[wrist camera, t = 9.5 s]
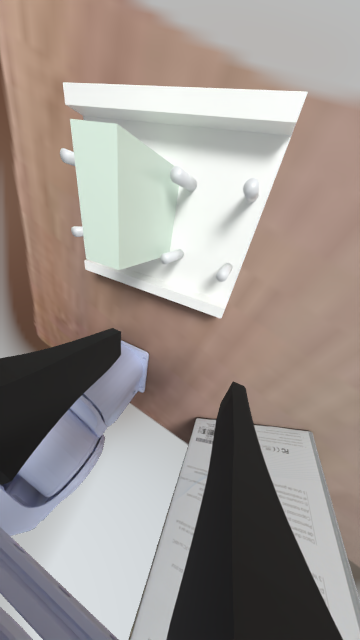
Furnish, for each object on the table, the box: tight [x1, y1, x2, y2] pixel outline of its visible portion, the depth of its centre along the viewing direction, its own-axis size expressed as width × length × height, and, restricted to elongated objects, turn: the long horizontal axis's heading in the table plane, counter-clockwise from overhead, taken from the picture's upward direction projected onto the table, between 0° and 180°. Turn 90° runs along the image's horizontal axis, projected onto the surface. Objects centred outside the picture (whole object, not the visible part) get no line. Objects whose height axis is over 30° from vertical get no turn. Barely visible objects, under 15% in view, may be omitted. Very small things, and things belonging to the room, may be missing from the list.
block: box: [70, 119, 179, 270], centre depth 11 cm, size 6×2×7 cm, turn 168°
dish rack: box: [60, 82, 308, 318], centre depth 14 cm, size 13×16×4 cm
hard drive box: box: [129, 418, 360, 640], centre depth 17 cm, size 16×8×20 cm, turn 113°
